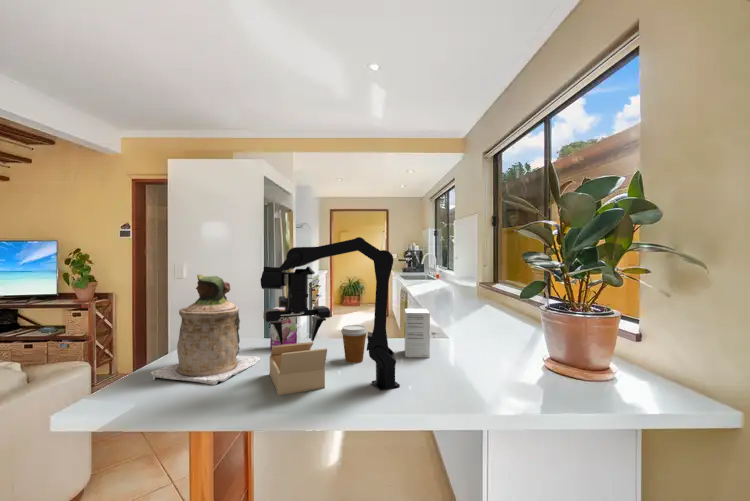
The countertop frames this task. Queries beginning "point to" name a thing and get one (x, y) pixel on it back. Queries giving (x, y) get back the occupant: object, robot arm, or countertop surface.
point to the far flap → (291, 348)
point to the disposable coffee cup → (354, 342)
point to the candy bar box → (286, 331)
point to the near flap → (303, 361)
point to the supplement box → (417, 333)
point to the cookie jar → (208, 337)
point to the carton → (295, 378)
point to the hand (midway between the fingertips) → (297, 342)
